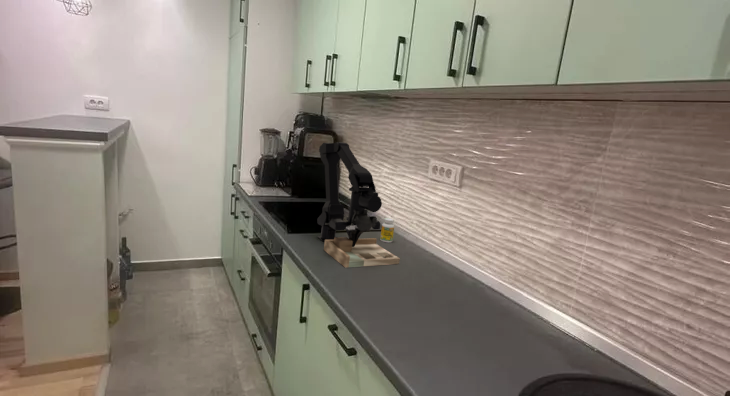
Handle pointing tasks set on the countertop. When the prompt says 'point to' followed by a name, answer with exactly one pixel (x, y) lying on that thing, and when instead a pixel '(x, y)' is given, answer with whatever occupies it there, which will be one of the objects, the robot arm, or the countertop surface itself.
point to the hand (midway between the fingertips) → (352, 246)
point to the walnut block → (343, 243)
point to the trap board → (361, 254)
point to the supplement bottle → (387, 230)
